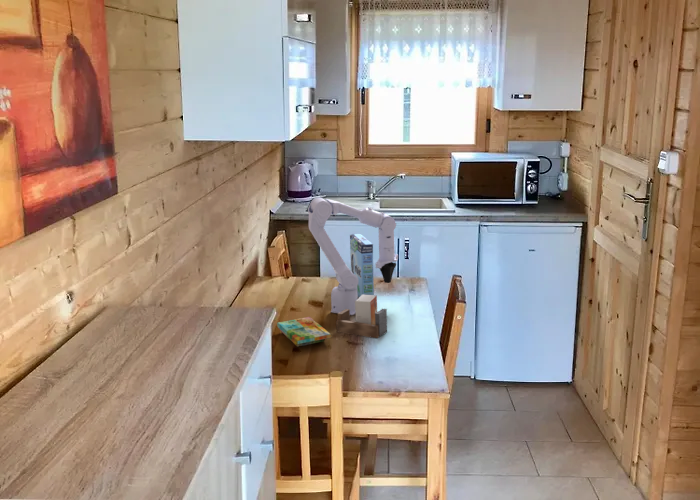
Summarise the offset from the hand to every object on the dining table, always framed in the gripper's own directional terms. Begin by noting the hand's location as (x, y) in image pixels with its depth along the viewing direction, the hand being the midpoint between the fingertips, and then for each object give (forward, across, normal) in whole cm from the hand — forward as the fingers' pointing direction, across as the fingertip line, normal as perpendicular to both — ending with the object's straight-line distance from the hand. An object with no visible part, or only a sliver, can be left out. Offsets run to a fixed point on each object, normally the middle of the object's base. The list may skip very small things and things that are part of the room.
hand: (387, 282), depth 263 cm
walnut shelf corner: (+9, -27, -4) cm, 29 cm away
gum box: (+10, +9, +16) cm, 21 cm away
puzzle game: (+10, -41, +11) cm, 44 cm away
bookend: (+9, -27, -11) cm, 31 cm away
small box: (+10, -23, -3) cm, 25 cm away
